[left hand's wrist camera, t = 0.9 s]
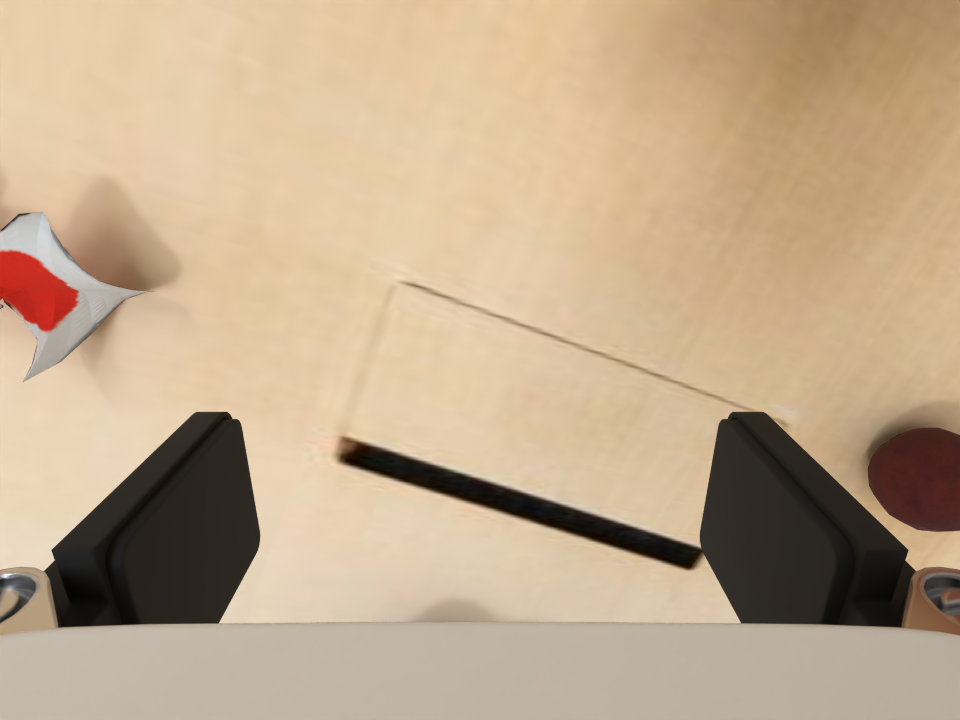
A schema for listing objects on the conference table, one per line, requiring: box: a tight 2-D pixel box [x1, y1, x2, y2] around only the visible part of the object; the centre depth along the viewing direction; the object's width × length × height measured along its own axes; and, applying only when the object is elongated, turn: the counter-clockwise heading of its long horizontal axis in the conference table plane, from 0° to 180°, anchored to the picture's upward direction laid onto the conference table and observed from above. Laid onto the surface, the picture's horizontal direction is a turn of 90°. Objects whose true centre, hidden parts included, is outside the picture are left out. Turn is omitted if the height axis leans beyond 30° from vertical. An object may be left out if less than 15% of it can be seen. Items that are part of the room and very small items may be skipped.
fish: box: [0, 212, 154, 382], centre depth 35 cm, size 11×16×10 cm
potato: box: [868, 428, 960, 532], centre depth 41 cm, size 7×8×7 cm
